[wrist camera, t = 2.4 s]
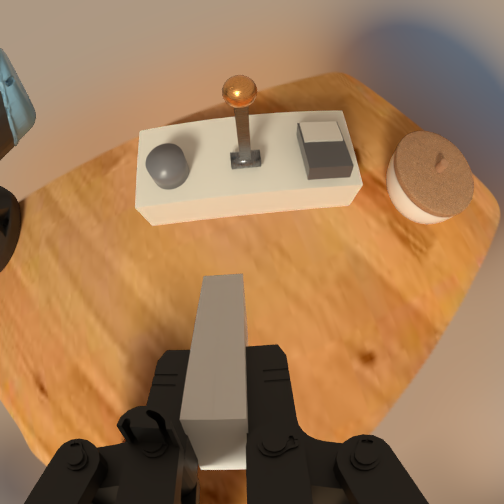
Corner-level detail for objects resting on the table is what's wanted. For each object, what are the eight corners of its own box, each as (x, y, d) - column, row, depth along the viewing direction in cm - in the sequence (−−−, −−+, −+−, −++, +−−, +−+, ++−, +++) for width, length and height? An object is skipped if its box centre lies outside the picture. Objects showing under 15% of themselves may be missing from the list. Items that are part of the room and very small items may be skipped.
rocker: (307, 180, 31) (309, 166, 29) (296, 135, 34) (297, 121, 32) (350, 177, 31) (354, 164, 29) (334, 133, 34) (337, 120, 32)
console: (152, 225, 38) (135, 208, 32) (153, 154, 41) (139, 129, 35) (349, 205, 38) (362, 184, 32) (332, 136, 41) (341, 109, 35)
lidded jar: (381, 149, 40) (405, 109, 31) (447, 177, 39) (480, 145, 30) (367, 218, 38) (395, 186, 29) (440, 246, 37) (480, 223, 28)
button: (153, 192, 33) (144, 180, 30) (154, 159, 34) (146, 146, 31) (189, 186, 33) (183, 174, 30) (189, 154, 34) (183, 140, 31)
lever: (232, 176, 33) (218, 95, 20) (230, 154, 33) (217, 70, 21) (261, 173, 33) (261, 90, 20) (258, 151, 33) (257, 66, 21)
